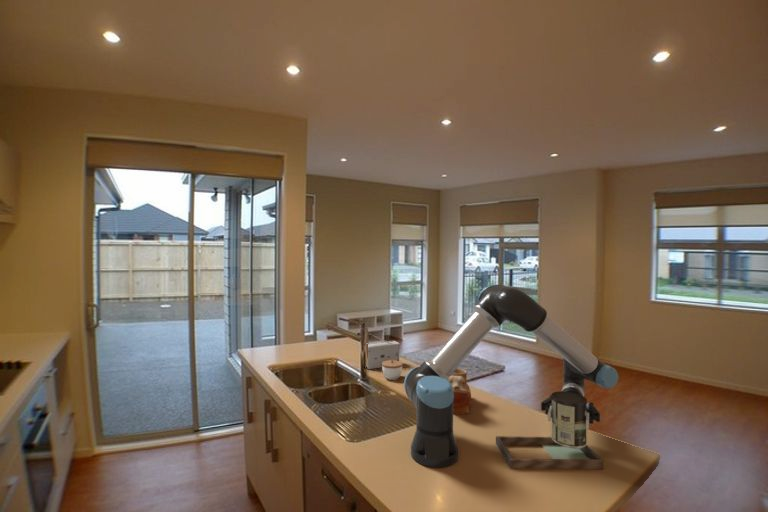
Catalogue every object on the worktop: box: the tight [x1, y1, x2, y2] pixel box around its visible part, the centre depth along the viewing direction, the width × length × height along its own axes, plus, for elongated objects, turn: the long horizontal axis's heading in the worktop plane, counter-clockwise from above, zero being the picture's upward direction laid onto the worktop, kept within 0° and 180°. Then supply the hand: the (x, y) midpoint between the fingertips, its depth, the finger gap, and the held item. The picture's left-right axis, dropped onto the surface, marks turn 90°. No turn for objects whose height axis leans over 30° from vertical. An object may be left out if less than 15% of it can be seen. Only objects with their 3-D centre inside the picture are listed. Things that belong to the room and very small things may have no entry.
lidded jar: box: [381, 360, 403, 381], centre depth 192 cm, size 11×11×9 cm
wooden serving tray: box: [495, 435, 604, 470], centre depth 119 cm, size 28×15×2 cm, turn 90°
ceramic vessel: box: [449, 367, 472, 415], centre depth 158 cm, size 14×26×15 cm, turn 170°
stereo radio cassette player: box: [366, 333, 401, 370], centre depth 212 cm, size 21×8×20 cm, turn 115°
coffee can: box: [550, 390, 588, 449], centre depth 119 cm, size 10×10×14 cm
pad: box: [541, 445, 589, 459], centre depth 119 cm, size 12×12×1 cm
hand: (567, 420), depth 116 cm, fingers closed on coffee can, 10 cm apart
